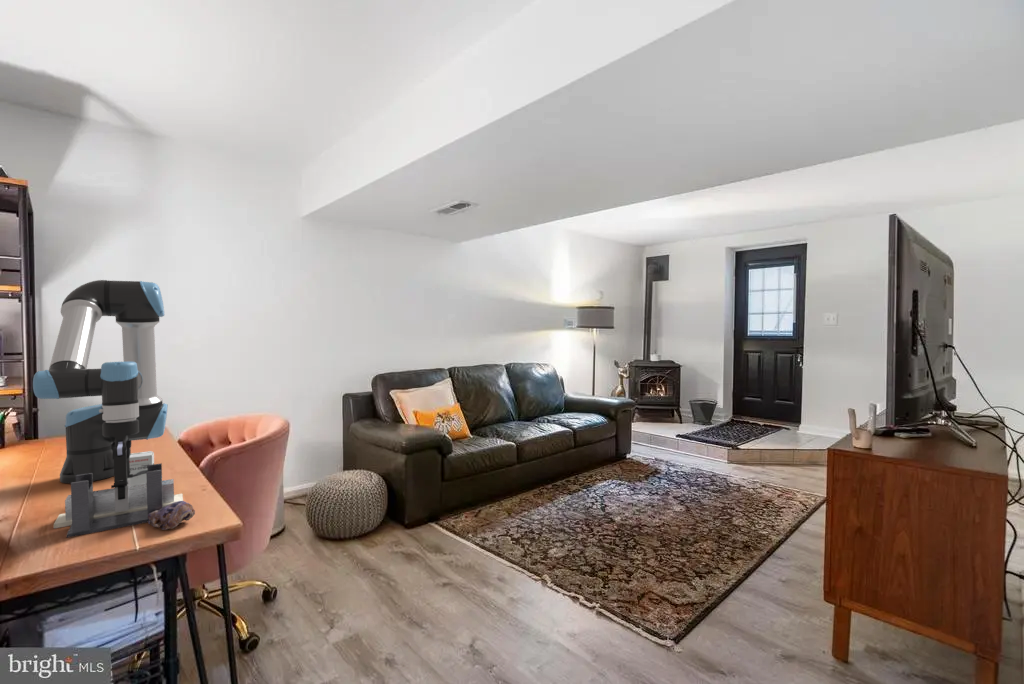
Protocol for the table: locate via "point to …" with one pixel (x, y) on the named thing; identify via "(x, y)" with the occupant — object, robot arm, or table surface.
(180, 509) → the purple rock
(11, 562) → the table surface
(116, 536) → the table surface
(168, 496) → the whetstone
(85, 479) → the stand
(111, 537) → the table surface
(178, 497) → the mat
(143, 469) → the ink box
